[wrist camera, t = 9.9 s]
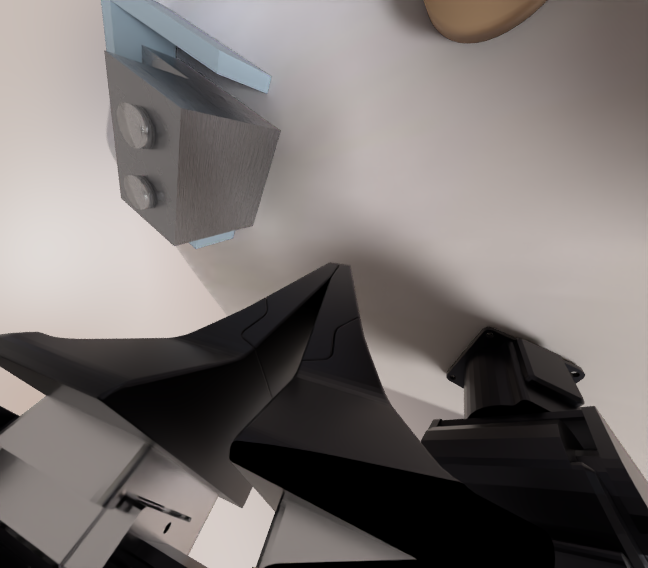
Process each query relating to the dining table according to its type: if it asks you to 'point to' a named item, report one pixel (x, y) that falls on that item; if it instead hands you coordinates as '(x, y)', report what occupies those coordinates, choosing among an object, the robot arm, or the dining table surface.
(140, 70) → the engine block
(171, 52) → the cradle
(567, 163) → the dining table surface
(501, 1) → the walnut wheel
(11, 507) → the robot arm
